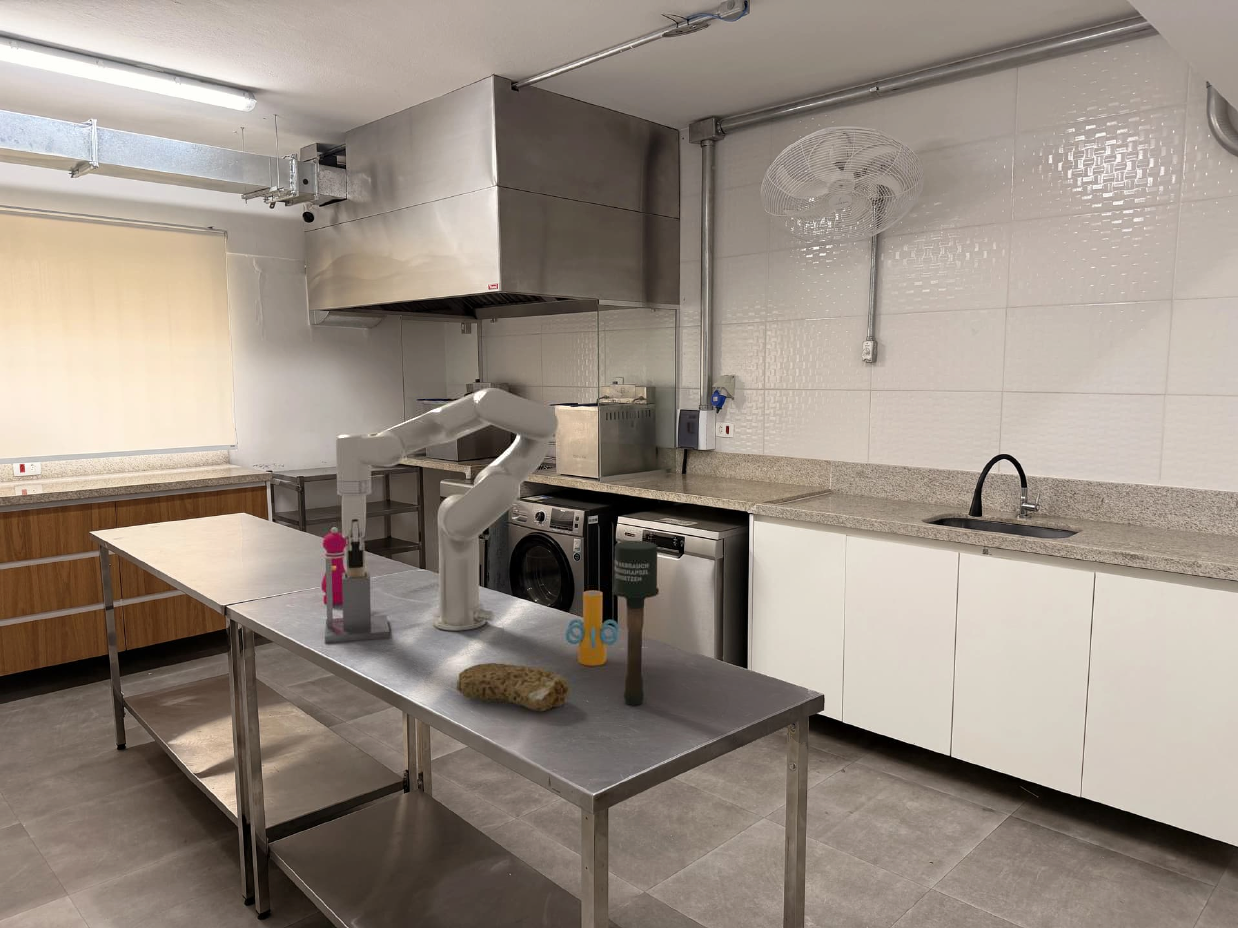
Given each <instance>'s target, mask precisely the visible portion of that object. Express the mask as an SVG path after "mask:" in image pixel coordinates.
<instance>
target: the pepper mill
mask: <svg viewBox="0 0 1238 928" xmlns="http://www.w3.org/2000/svg"><path fill="white" fill-rule="evenodd" d="M330 532H331V533H329V534H326V536H324V538H323V541H322V547H323V548H324V550H325V552H324V554H325V555H324V557H325V558H326V557H331V566H336V570H332V605H340V604H342V605H343V592H342V573H347V570H346V568H345V567H344V566H345V565H344V557H345V556H346V554H345V553H346V551H345V549H346V540H347V538H346V537H345V538H343V537H342V533H340V532H339V529H338V527H335V526H334V527H332V528H331V529H330ZM320 588H321V590H322V592H323V593H324V595H323V603H324V604H326V605H327V595H326V571H325V573H324V575H323V578H322V580H321V587H320Z"/></svg>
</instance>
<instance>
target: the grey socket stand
mask: <svg viewBox="0 0 1238 928" xmlns="http://www.w3.org/2000/svg"><path fill="white" fill-rule="evenodd" d="M332 570H336V566H331V557H325V572H326V593H325V594H326V595H327V604H326V619H325V629H324V630H325V631H324V644H329V643H342V642H356V641H367V640H380V639H390V628H389V621H388V615H387V614H378V615H371V611H372V610H371V609H372V608H371V607H372V606H371V573H370V571H365V577H358V578H347V572H346V573H342V592H343V603H342V617H338V618H333V611H334V610H333V604H332Z"/></svg>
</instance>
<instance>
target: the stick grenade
mask: <svg viewBox="0 0 1238 928" xmlns="http://www.w3.org/2000/svg"><path fill="white" fill-rule="evenodd" d="M613 579H614V582H613V587H612V590H611V592H612V594H613V595H615V596H616V597H621V598H624V599H625V600H626V601H625V602H626V627H627V646H626V647H627V653H626V657H627V658H626V660H627V662H626V663H627V667H626V676H625V680H624V682H625V683H624V684H625V685H624V692H623V693H624V694H623V699H624V702H625V703H626V704H627V703H628V704H627V705H629V704H630V705H631V706H638V704H639V705H641V704H642V703H643V701H644V696H645V695H644V680H643V679H644V678H643V675H642V660H643V659H642V656H643V654H642V653H643V652H642V651H643V649H642V648H643V628H644V623H645V622H644V616H645V612H644V611H645V600H646V599H650V598H653V597H656V596H657V595H659V592H660V591H659V590H660V589H659V588H658V586H657V585H658V545H657V544H656V543H654V542H650V541H646V540H645V541H644V540H625V541H620V542H617V543H616V544H615V546H614V578H613ZM640 703H641V704H640Z"/></svg>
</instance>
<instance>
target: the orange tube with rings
mask: <svg viewBox="0 0 1238 928" xmlns="http://www.w3.org/2000/svg"><path fill="white" fill-rule="evenodd" d="M582 602H583V604H582V605H583V607H582V608H583V612H582V614H583V619H582V620H581V619H579V618H573V619H572V620H570V621H569V623H568V627H567V628H566V632H565V639H566V641H567V643H570V644H571V645H577V644H578V646H577V648H578V649H577V650H578V652H577V653H578V657H577V658H578V663H579V664H581V665H583V666H590V667H595V666H601V665H604V664H605V663H606V662H607V645H608V646H612V645H615V643H616V642H617V641H618V639H619V638H618V632H619V624H618V622H617V621H615V620H614V619H607V620H605V621H603V592H602V591H600V590H586V591H583V601H582ZM610 624H612V625H610ZM613 626H614V627H613ZM573 629H578V630H579V631H580V634H576V633H575V632H574V631H573ZM607 629H608V630H610V631H611V632H612V634H610V635H607V634H606V633H605V630H607ZM570 637H572V638H574V639H575V640H573V639H571V638H570Z"/></svg>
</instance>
